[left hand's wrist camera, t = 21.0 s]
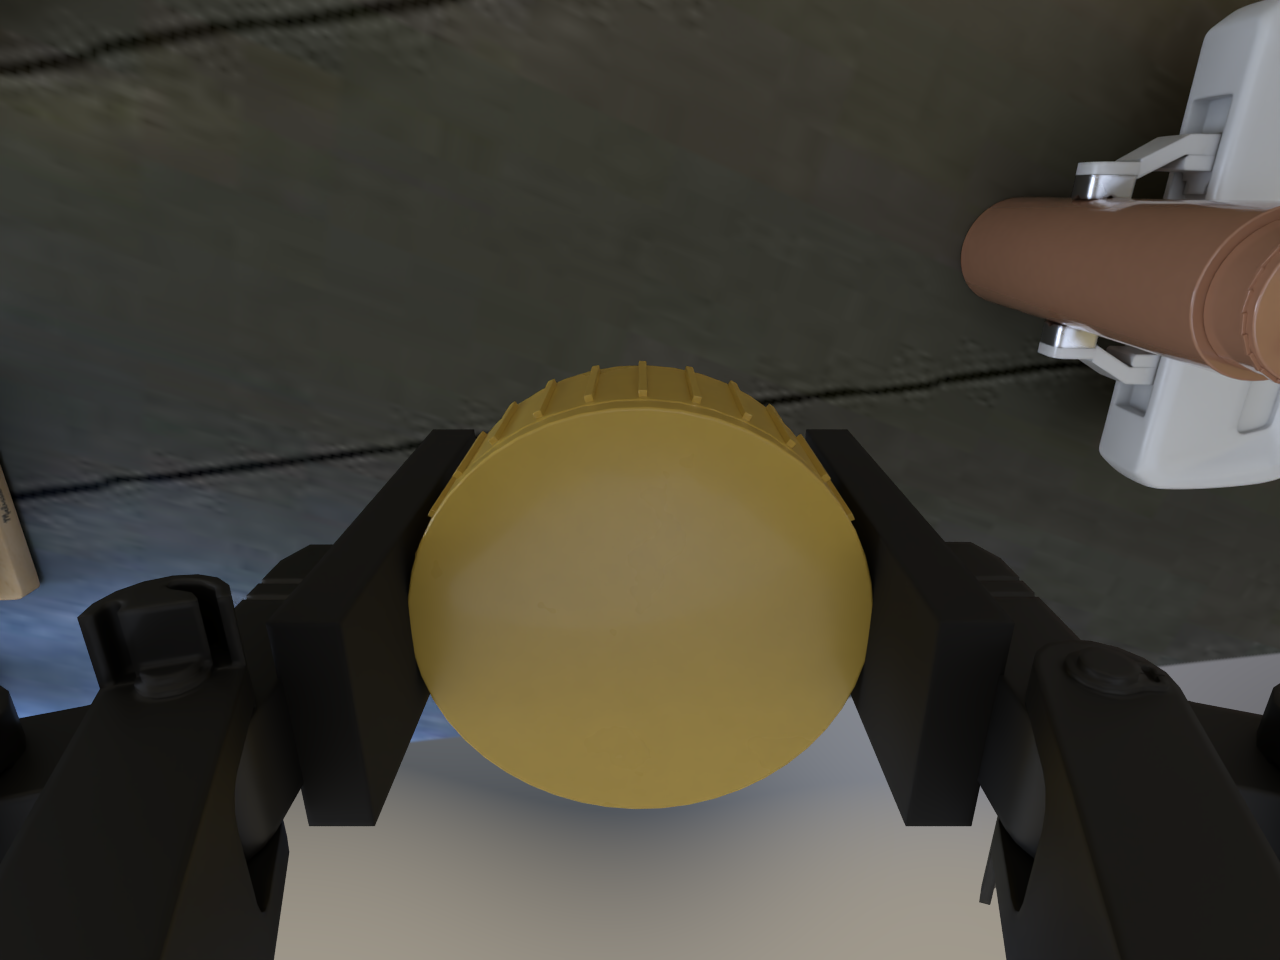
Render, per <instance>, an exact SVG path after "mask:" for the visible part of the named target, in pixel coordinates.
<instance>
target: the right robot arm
mask: <svg viewBox="0 0 1280 960" xmlns="http://www.w3.org/2000/svg"><path fill="white" fill-rule="evenodd" d="M1152 171H1154V172H1170V173H1169V177H1168V181H1167V185H1166V189H1165V192H1164V196H1163V199H1204V200H1270V201H1280V0H1263V1H1259V2H1256V3H1253V4H1250V5H1247V6H1244V7H1242V8H1240V9H1237V10H1236V11H1234V12H1233V13H1231V14H1230V15H1228V16H1227V17H1226V18H1224V19H1223V20H1222V21H1220V22H1219V23H1217V24H1216V25H1215V26H1214V27H1212V28H1211V29H1210V30H1209V31H1208V32H1207V34H1206V36H1205V38H1204V41H1203V44H1202V48H1201V52H1200V56H1199V60H1198V64H1197V68H1196V72H1195V75H1194V79H1193V83H1192V87H1191V91H1190V95H1189V99H1188V103H1187V107H1186V111H1185V114H1184V118H1183V122H1182V126H1181V130H1180V134H1179V135H1173V136H1164V137H1157V138H1155V139H1154V140H1152V141H1150V142H1148V143H1146V144H1145V145H1143V146H1141V147H1139V148H1137V149H1136V150H1134V151H1132V152H1130V153H1128V154H1127V155H1125V156H1123V157H1121V158H1119V159H1118V160H1116V162H1107V161H1104V162H1083V163H1078V167H1077V172H1076V176H1075V181H1074V186H1073V191H1072V195H1071V198H1072V199H1102V198H1131V197H1132V193H1133V190H1134V186H1135V182H1136V179H1138V178H1140V177H1142V176H1144V175H1146V174H1148V173H1150V172H1152ZM1097 339H1098V336H1096V335H1093V334H1090V333H1087V332H1084V331H1081V330H1077V329H1074V328H1071V327H1068V326H1065V325H1062V324H1058V323H1055V322H1052V321H1049V320H1048V321H1045V322H1044V326H1043V331H1042V335H1041V339H1040V343H1039V348H1038V353H1041V354H1044V355H1046V356H1049V357H1053V358H1060V359H1079V360H1080V361H1082V362H1083V363H1085V364H1086V365H1088V366H1089V367H1091V368H1092V369H1093V370H1095V371H1096V372H1098V373H1099V374H1101V375H1104V376H1106V377H1109V378H1111V379H1114V380H1116V383H1115V387H1114V391H1113V395H1112V399H1111V403H1110V407H1109V411H1108V415H1107V419H1106V422H1105V426H1104V430H1103V434H1102V437H1101V441H1100V446H1099V452H1100V454H1101V456H1102V457H1103V458H1104V459H1105V460H1106V461H1107V462H1108V463H1109V464H1110V465H1111V466H1112V467H1113V468H1114V469H1116V470H1117V471H1118V472H1120V473H1121V474H1123V475H1124V476H1126V477H1128V478H1130V479H1131V480H1133V481H1135V482H1138V483H1140V484H1142V485H1145V486H1148V487H1152V488H1158V489H1204V488H1220V487H1232V486H1242V485H1251V484H1258V483H1264V482H1268V481H1272V480H1276V479H1279V478H1280V384H1278V383H1274V382H1272V381H1270V380H1265V381H1242V380H1237V379H1232V378H1229V377H1226V376H1223V375H1219V374H1216V373H1213V372H1210V371H1207V370H1204V369H1200V368H1197V367H1194V366H1191V365H1188V364H1185V363H1182V362H1178V361H1175V360H1172V359H1169V358H1166V357H1163V356H1159V355H1156V354H1153V353H1150V352H1147V351H1144V350H1140V349H1137V348H1134V347H1131V346H1128V345H1125V346H1108V347H1107V348H1106V351H1105V350H1103V349H1102V348H1100V347H1099V346H1097V345H1096V343H1097Z"/></svg>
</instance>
